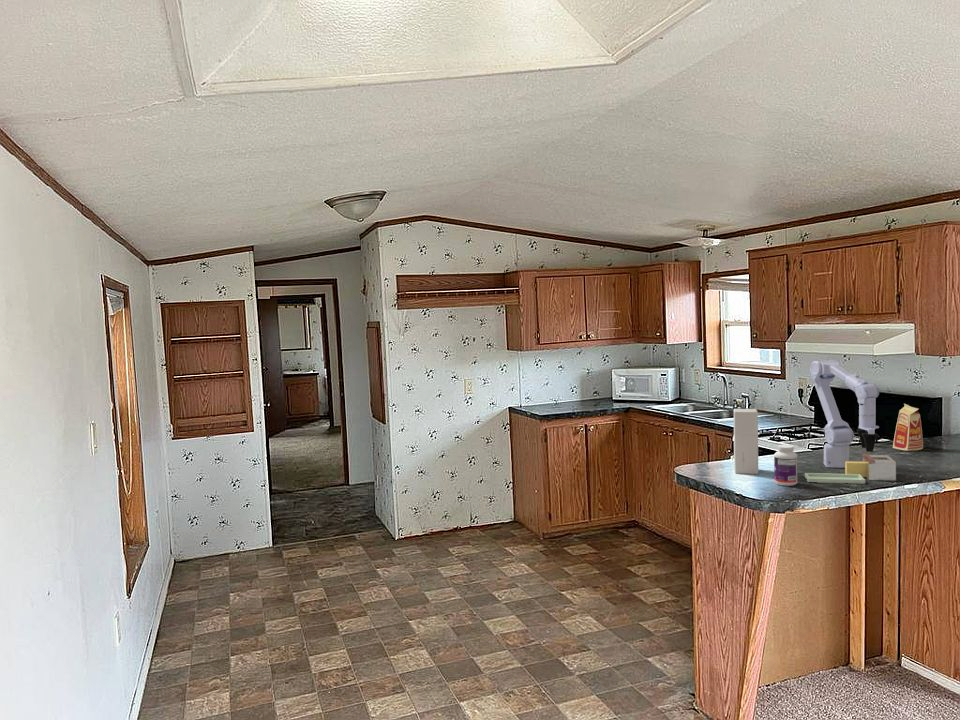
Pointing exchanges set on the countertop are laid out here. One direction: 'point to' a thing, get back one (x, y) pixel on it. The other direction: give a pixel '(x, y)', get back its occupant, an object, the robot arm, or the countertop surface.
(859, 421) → the robot arm
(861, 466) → the tan rectangular block
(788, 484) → the pill bottle
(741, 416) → the tall white carton
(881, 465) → the dispenser
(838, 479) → the tray
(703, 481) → the countertop surface
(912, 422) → the milk carton
